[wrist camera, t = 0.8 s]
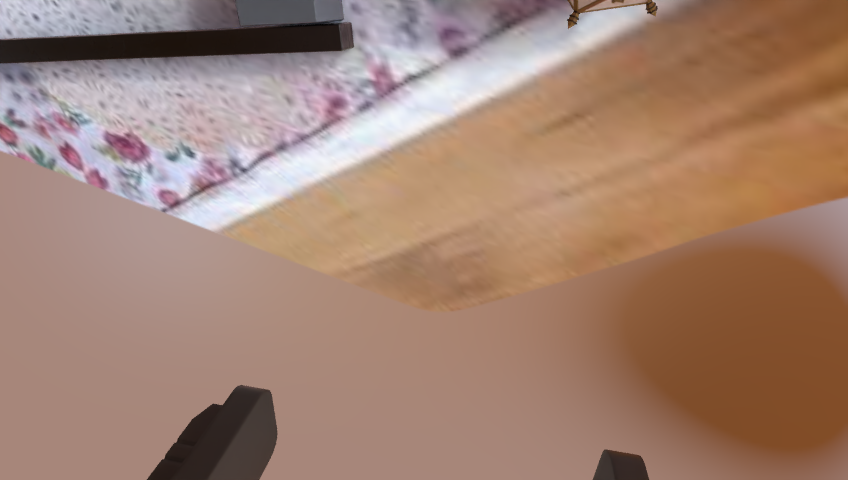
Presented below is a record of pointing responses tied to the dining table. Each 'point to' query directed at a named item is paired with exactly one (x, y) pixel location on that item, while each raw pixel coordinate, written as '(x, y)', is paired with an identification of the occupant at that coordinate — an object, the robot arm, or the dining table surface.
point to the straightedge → (180, 43)
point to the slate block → (287, 11)
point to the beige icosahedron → (605, 7)
